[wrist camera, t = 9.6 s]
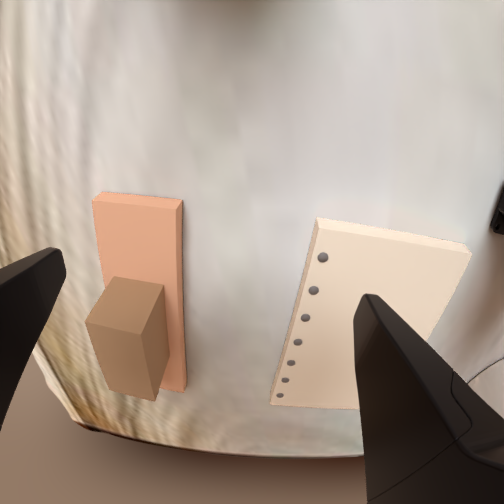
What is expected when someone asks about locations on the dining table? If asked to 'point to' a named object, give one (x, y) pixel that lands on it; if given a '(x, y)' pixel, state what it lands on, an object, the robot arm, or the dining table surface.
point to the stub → (139, 294)
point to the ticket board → (348, 297)
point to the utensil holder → (491, 386)
